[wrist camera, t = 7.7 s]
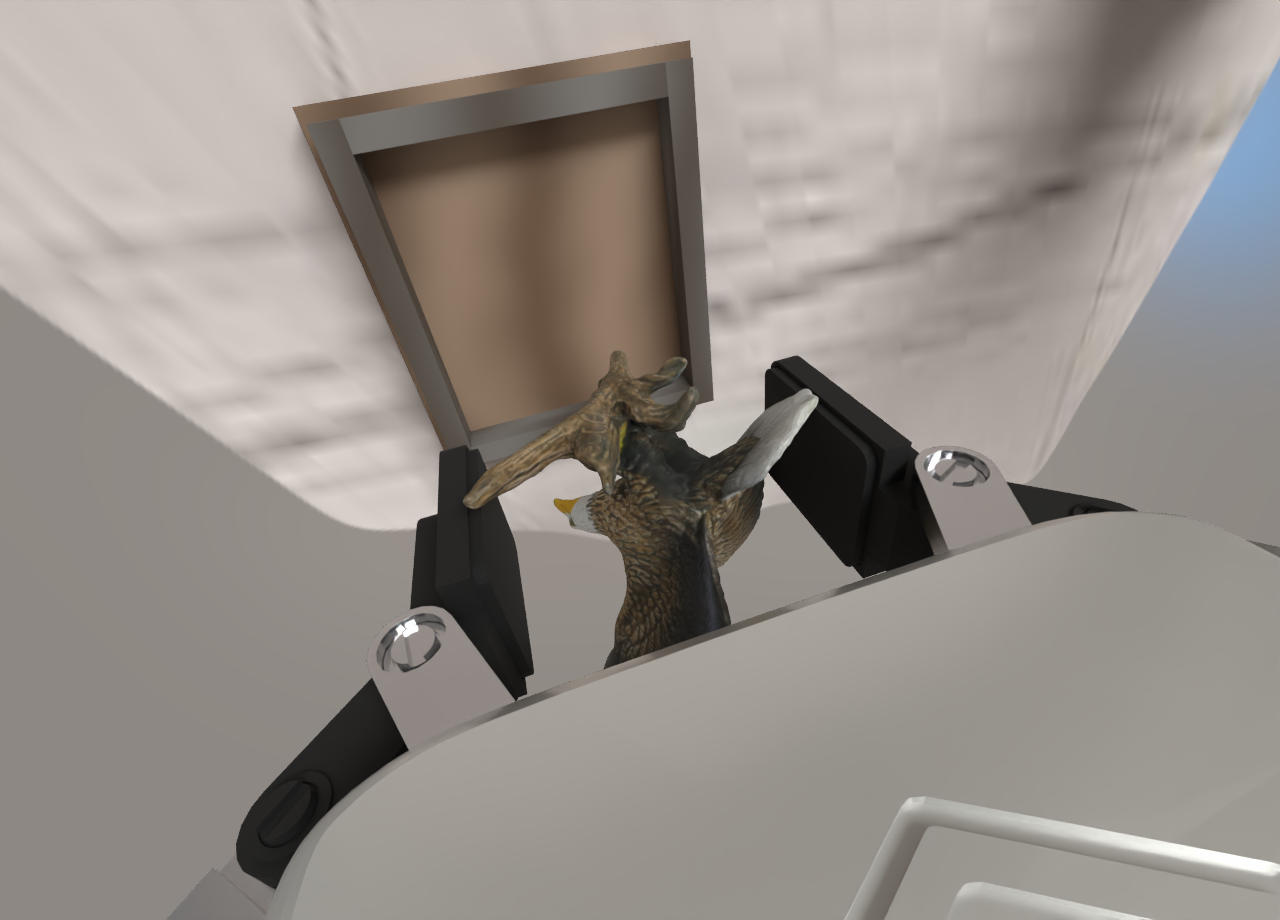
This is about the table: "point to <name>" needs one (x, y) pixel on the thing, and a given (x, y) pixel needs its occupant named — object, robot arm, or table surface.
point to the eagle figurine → (658, 498)
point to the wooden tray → (528, 234)
